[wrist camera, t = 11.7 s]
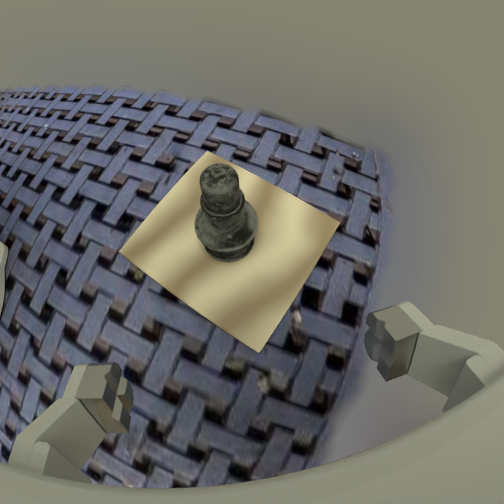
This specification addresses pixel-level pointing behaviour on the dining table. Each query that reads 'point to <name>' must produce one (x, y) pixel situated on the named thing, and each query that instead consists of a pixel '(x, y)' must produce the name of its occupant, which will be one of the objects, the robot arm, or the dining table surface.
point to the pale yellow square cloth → (242, 271)
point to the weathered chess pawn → (224, 215)
